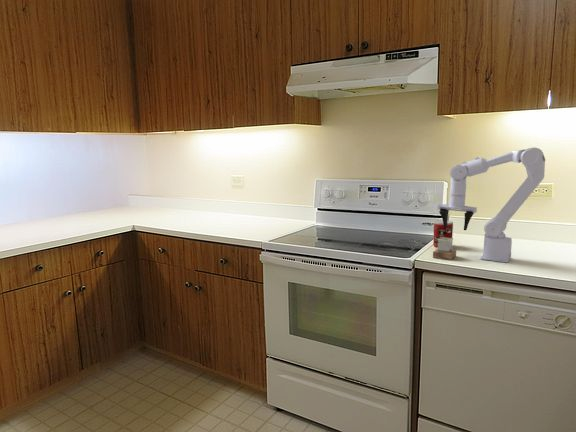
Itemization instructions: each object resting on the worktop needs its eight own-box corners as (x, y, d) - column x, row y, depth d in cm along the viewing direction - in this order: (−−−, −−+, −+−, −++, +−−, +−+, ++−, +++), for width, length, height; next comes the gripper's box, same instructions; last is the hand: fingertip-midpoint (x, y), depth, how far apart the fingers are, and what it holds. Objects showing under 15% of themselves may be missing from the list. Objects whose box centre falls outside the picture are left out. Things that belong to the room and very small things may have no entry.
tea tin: (452, 250, 165) (452, 238, 165) (449, 252, 162) (449, 240, 161) (440, 248, 168) (441, 237, 167) (437, 251, 164) (437, 239, 164)
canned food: (431, 247, 180) (432, 222, 178) (434, 243, 187) (435, 219, 185) (450, 249, 176) (451, 223, 175) (453, 245, 183) (454, 220, 182)
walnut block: (456, 256, 166) (456, 250, 165) (451, 260, 160) (451, 254, 160) (438, 253, 170) (438, 247, 169) (432, 257, 164) (433, 251, 164)
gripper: (479, 195, 164) (476, 229, 167) (441, 192, 172) (439, 224, 175) (475, 197, 159) (472, 232, 161) (436, 194, 167) (434, 227, 169)
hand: (455, 228), depth 168 cm, fingers open, 7 cm apart
